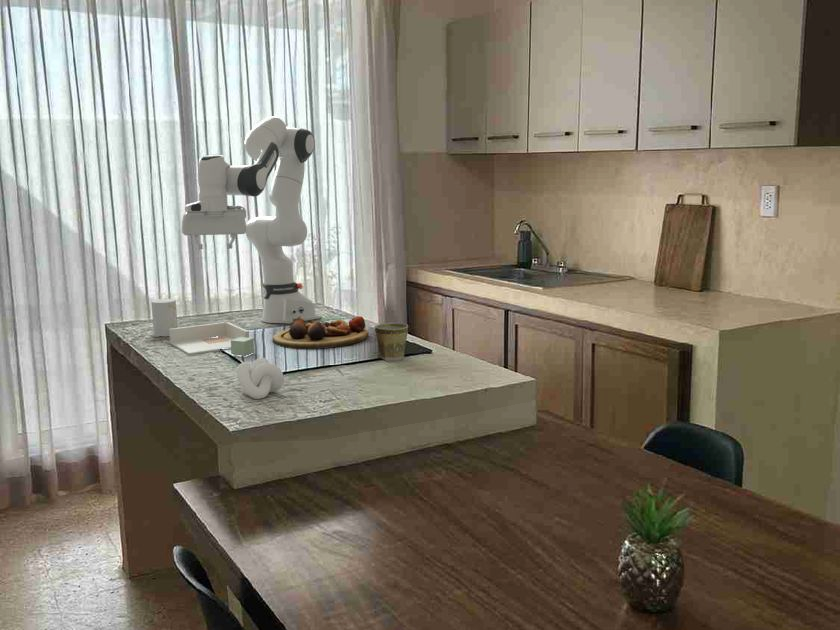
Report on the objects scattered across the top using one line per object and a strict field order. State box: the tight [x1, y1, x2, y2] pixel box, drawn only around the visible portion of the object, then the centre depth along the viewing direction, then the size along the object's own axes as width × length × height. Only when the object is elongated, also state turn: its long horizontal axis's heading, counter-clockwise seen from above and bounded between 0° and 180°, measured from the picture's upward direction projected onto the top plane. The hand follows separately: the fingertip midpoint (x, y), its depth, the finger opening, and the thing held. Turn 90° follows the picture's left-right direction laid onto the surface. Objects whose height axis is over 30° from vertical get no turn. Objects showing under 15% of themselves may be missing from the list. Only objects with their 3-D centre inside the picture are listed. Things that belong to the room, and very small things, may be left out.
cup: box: [150, 298, 179, 337], centre depth 287 cm, size 8×8×12 cm
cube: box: [230, 337, 255, 356], centre depth 255 cm, size 5×5×5 cm
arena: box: [169, 321, 250, 356], centre depth 270 cm, size 20×20×5 cm
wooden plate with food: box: [272, 315, 369, 350], centre depth 277 cm, size 32×32×8 cm
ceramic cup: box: [374, 322, 409, 362], centre depth 248 cm, size 13×10×10 cm
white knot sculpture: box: [236, 357, 285, 400], centre depth 210 cm, size 11×12×9 cm
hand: (215, 248), depth 266 cm, fingers open, 8 cm apart
